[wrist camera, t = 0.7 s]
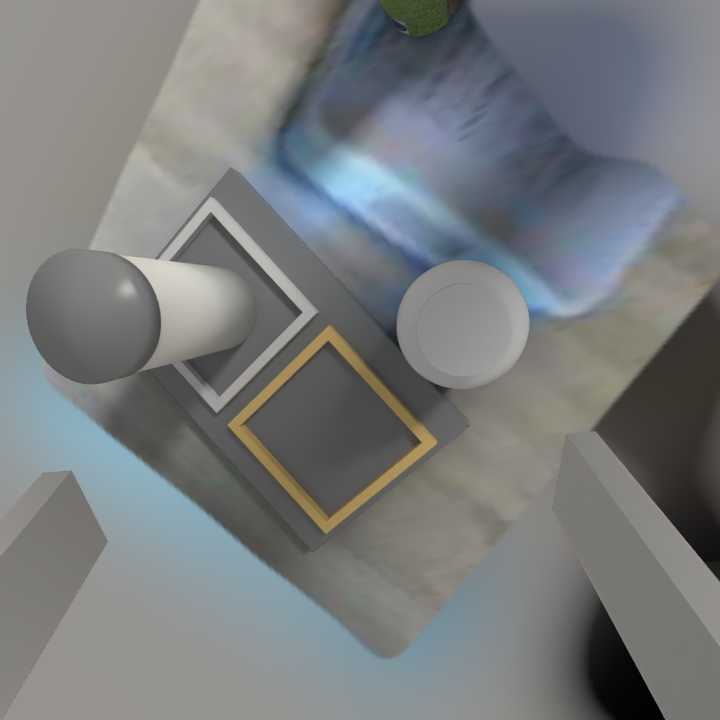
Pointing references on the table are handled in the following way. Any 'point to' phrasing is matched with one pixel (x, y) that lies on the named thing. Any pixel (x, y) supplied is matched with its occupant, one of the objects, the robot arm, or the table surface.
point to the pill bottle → (462, 324)
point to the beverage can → (419, 15)
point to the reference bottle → (133, 313)
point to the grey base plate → (302, 375)
